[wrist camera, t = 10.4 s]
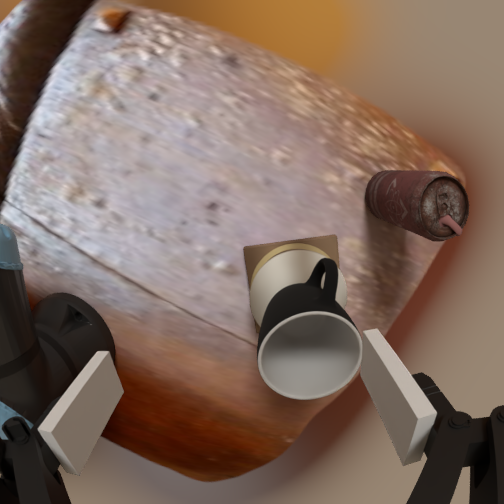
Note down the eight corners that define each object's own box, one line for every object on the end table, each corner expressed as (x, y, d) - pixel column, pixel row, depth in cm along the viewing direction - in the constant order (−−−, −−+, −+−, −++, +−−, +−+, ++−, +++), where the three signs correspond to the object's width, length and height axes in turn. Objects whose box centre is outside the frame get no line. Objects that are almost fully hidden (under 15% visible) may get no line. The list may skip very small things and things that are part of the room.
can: (390, 230, 37) (448, 259, 24) (354, 198, 36) (403, 213, 23) (417, 193, 36) (484, 206, 22) (382, 160, 35) (442, 156, 22)
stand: (256, 328, 41) (256, 348, 36) (244, 246, 38) (241, 257, 33) (340, 317, 40) (349, 335, 35) (334, 234, 38) (345, 243, 33)
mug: (322, 351, 36) (339, 406, 26) (249, 335, 35) (245, 390, 26) (358, 257, 33) (394, 289, 23) (279, 234, 33) (286, 260, 23)
